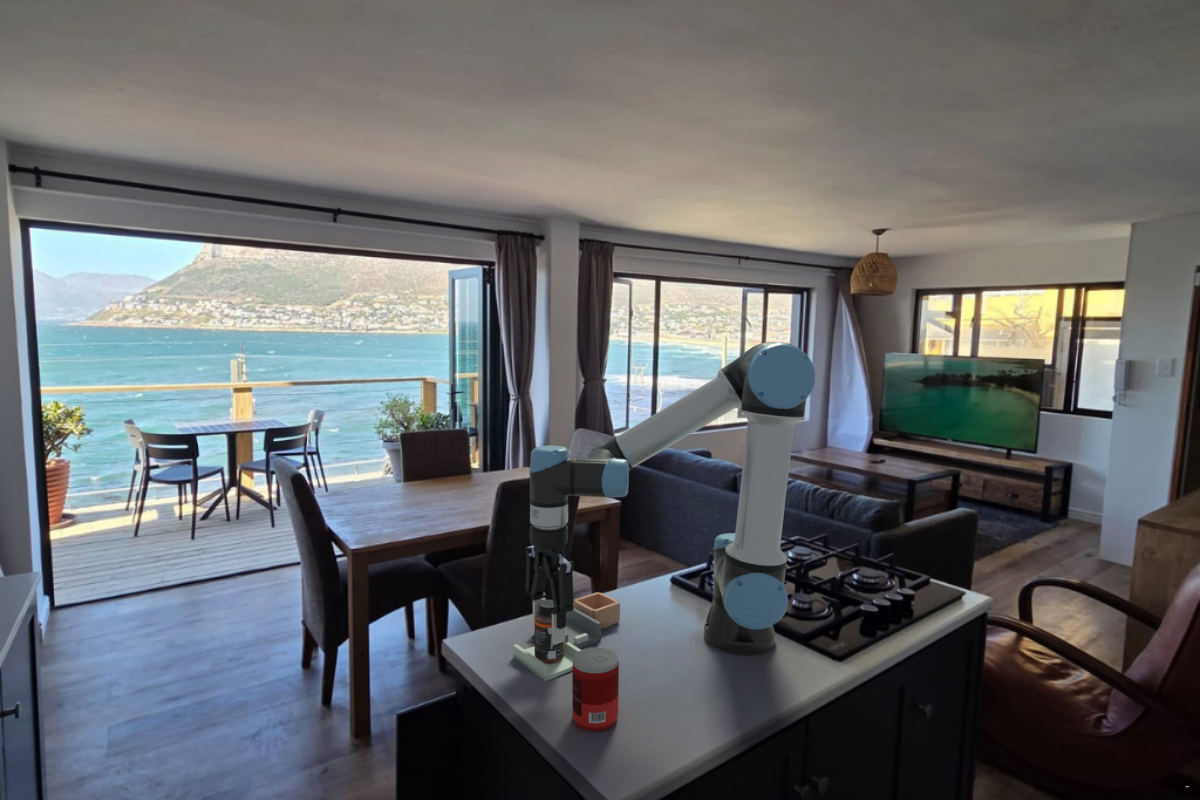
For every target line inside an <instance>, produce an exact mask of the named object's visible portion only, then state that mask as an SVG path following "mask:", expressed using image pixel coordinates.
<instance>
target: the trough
mask: <svg viewBox="0 0 1200 800" xmlns="http://www.w3.org/2000/svg"><path fill="white" fill-rule="evenodd" d="M534 646H535V645H534ZM534 646H531V647H527V648H525V649H524V648H523V647H521V646H520V645H519V644H518V643H516V644H513V647H512V649H513V651H512V653H513V658H514V659H515V660H516V661H518V662H519V663H520V664H522V665H523V666H524V667H526V668H527V669H529V670H530V671H531V672H532V673H534V674H535V675H537V676H538V677H539V678H541V679H542V680H543V679H544V680H543V681H545V682H547V681H550V680H553V679H555V678H557V677H559V676H562V675H564V674H567V673H569V672H571V671H572V667H573V657H574V655H575V654H576V653H577V652H579V651H581V650H582V649H581V648H580V649H579V648H577V647H576V646H574V645H572V644H571V643H569V642H568V641H567V642H564V655H563V658H562V659H561V660H559V661H558V662H555V663H543V662H542V661H540V660H539V659H537V658H536V657H535V651H534V650H535V647H534Z"/></svg>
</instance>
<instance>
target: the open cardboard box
mask: <svg viewBox="0 0 1200 800" xmlns="http://www.w3.org/2000/svg"><path fill="white" fill-rule="evenodd" d="M573 601H574V608H575V609H577V610H578V611H580V612H582V613H584V614H586V615H588V616H589V617H591V618H593V619H595V620H597V621H599V622H600V623H601V630H603V629H607V628H609V627H611V626H613V625H614V624H617V623H619V622H620V621H621V617H620V615H621V614H620V613H621V603H620V601H619V600H616V599H615V598H613V597H611V596H608V595H607V594H605V593H603V592H598V591H597V592H593V593H590V594H589V595H585V596H582V597H579V598H576V599H573Z"/></svg>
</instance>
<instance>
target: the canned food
mask: <svg viewBox="0 0 1200 800" xmlns="http://www.w3.org/2000/svg"><path fill="white" fill-rule="evenodd" d="M580 650H581V651H579V652H577V653H576V654H575V655H574V657H573V667H572V678H571V679H572V681H571V682H572V683H571V684H572V693H571V694H572V695H571V696H572V702H571V703H572V704H571V705H572V708H571V709H572V719H573V722H574V724H575V725H576V727H579V728H580V729H581V730H583V729H584V731H587V732H601V731H605V730H608V729H610V728H612V727H613V726H614V725H615V724H616V722H617V719H618V717H619V685H620V684H619V681H620V680H619V675H620V674H619V673H620V667H619V666H620V665H619V663H620V660H619V655H618V654H617V653H616V652H615V651H614V650H611V649H609V648H606V647H605V648H604V647H588V648H583V649H580Z"/></svg>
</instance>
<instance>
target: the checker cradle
mask: <svg viewBox="0 0 1200 800" xmlns="http://www.w3.org/2000/svg"><path fill="white" fill-rule="evenodd" d="M533 634H534V635H535V633H534V632H533ZM601 635H602V629H601V623H600V622H599V621H597V620H595V619H593V618H591V617H589V616H588V615H586V614H584V613H582V612H580V611H578V610H577V609H575V608H574V609H573V610H572V611H569V612H566V627H565V641H564V642H567V641H568V642H569V643H571V644H572V645H574V646H576V647H577V648H579V649H580V650H581V649H582V648H583V649H584V648H585V647H588V646H590V645H593V644H596V643H598V642H600V641H602V636H601Z"/></svg>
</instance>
